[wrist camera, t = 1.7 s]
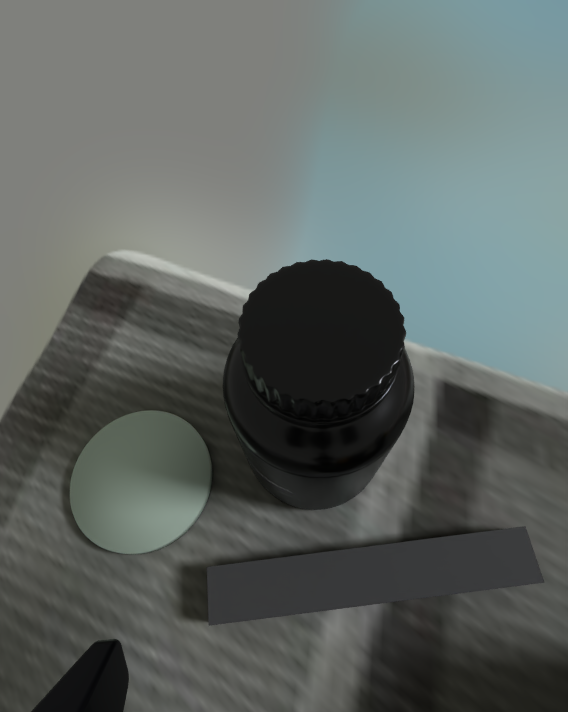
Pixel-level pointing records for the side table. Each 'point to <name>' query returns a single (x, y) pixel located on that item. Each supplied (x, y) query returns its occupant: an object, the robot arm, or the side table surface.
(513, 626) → the side table surface
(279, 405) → the supplement bottle
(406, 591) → the dark grey slat
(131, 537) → the pad
